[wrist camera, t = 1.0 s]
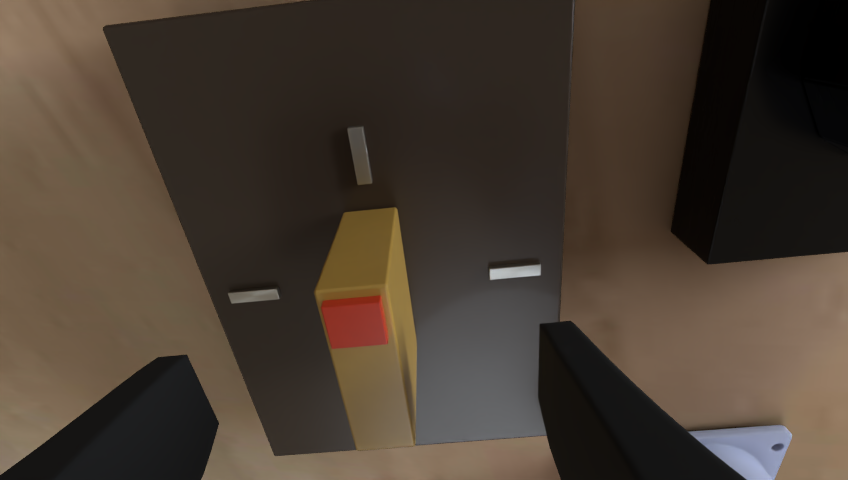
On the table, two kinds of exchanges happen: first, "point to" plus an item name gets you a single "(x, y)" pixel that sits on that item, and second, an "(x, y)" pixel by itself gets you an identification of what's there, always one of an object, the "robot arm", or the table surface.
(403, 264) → the lock knob
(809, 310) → the table surface
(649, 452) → the robot arm
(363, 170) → the lock plate
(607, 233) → the table surface
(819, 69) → the block
